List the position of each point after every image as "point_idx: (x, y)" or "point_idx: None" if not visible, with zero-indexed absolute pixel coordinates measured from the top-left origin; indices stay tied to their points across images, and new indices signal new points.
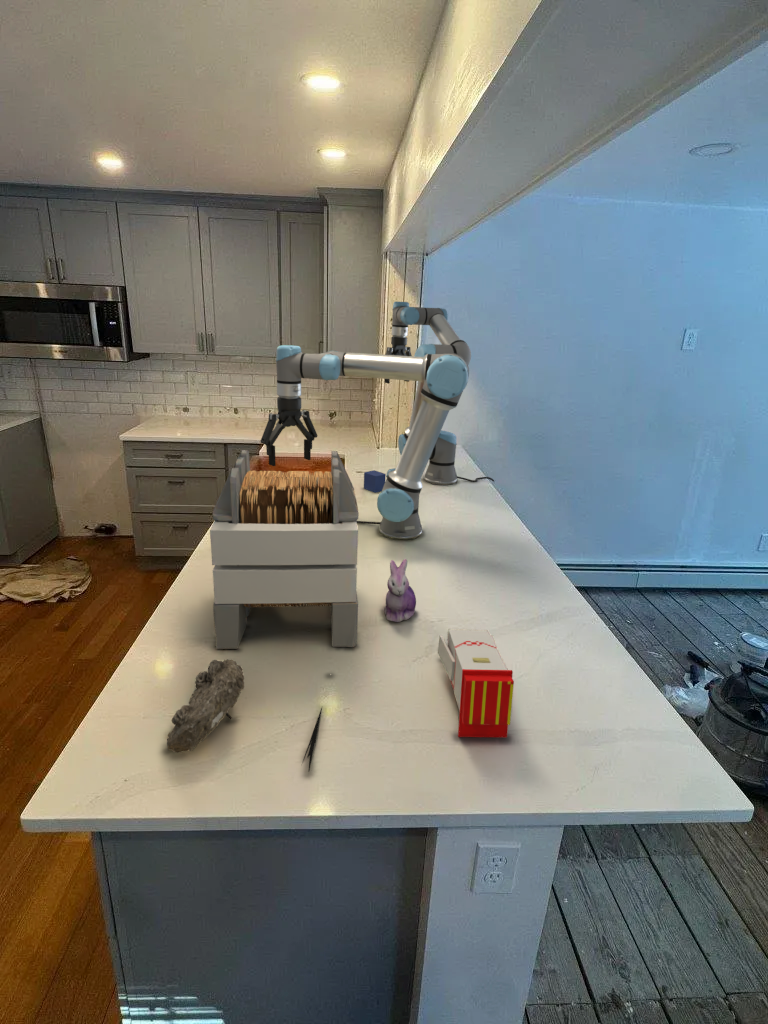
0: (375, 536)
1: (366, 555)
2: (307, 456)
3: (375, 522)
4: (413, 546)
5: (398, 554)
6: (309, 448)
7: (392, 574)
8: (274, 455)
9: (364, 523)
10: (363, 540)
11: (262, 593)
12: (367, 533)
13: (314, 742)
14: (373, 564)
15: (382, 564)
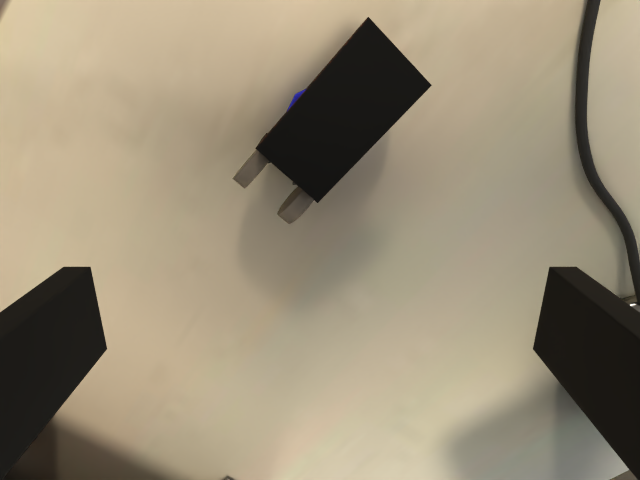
0: None
1: (411, 416)
2: (557, 350)
3: (637, 281)
4: (564, 444)
5: (485, 456)
6: (632, 457)
7: None
8: (23, 437)
9: (622, 232)
10: (491, 337)
11: None
12: None
13: None
14: (383, 461)
15: (402, 472)
